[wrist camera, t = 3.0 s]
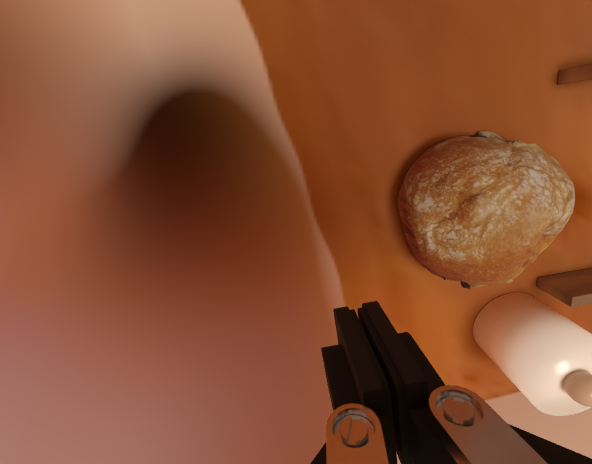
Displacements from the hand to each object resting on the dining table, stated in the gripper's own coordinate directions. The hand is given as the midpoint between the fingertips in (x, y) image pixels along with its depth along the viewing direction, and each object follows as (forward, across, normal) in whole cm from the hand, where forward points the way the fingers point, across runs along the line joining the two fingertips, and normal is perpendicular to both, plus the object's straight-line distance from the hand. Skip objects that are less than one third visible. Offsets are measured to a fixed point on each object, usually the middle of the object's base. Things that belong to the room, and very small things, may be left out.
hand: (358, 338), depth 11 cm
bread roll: (+11, -11, -1) cm, 15 cm away
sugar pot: (+11, -15, +10) cm, 21 cm away
